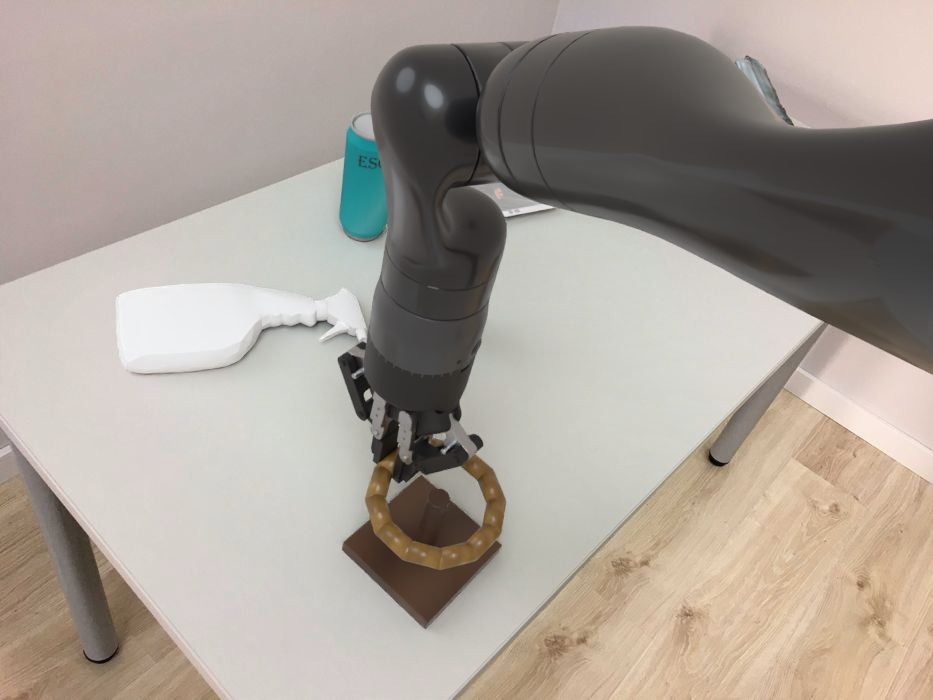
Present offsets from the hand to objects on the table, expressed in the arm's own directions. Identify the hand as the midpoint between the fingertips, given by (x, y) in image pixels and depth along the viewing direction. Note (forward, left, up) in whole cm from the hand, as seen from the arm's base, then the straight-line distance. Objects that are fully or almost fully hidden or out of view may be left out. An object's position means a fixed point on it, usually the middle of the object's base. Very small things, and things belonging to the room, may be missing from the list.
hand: (394, 466), depth 66 cm
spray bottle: (+25, -5, -9) cm, 27 cm away
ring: (-5, 0, 0) cm, 5 cm away
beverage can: (+29, -26, -9) cm, 40 cm away
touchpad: (+22, -44, -9) cm, 50 cm away
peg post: (-5, 0, -9) cm, 10 cm away
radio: (+5, -79, -9) cm, 80 cm away
